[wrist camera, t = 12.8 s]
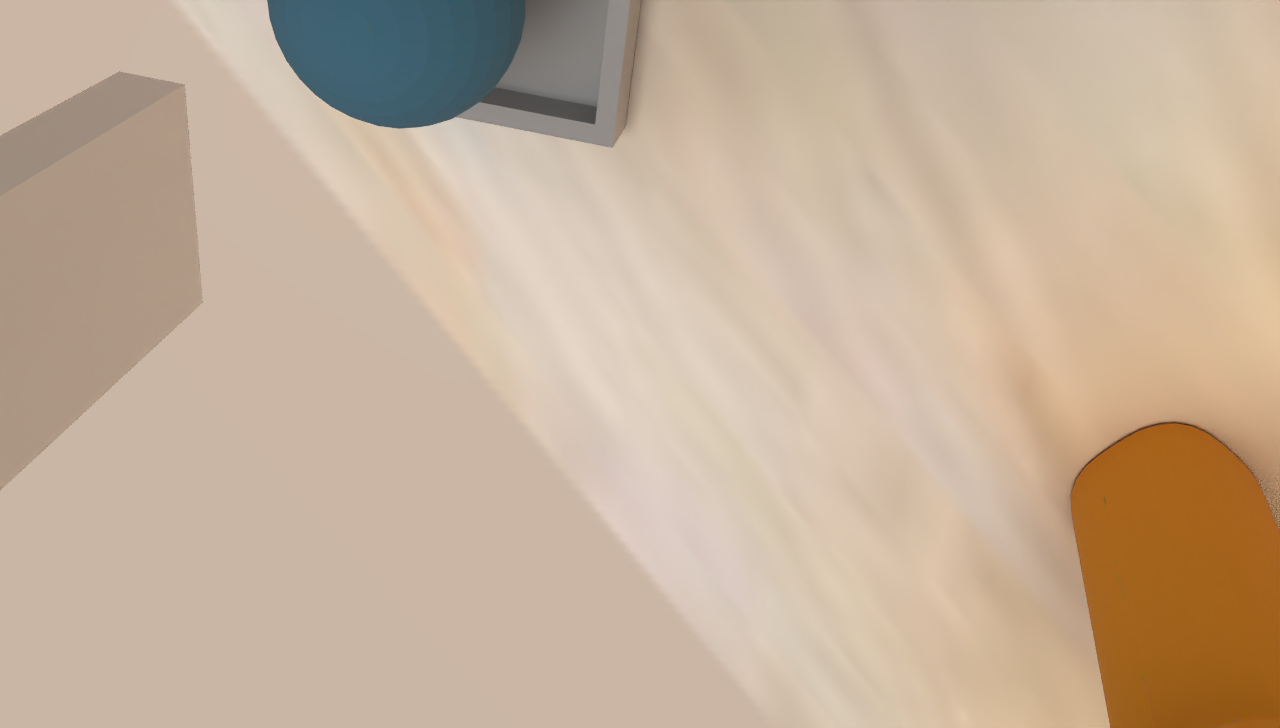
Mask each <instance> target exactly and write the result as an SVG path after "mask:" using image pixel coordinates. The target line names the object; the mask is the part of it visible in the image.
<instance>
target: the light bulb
mask: <svg viewBox="0 0 1280 728" xmlns="http://www.w3.org/2000/svg"><path fill="white" fill-rule="evenodd" d="M267 1H268V8H269V16H270V21H271V24H272V28H273V31H274V34H275V37H276V40H277V42H278V44H279V46H280V48H281V50H282V52H283V54H284V56H285V58H286V60H287V62H288V63H289V65H290V66H291V67H292V69H293V70H294V72H295V73H296V74H297V76H298V77H299V78H300V80H301V81H302V82H303V83H304V84H305V85H306V86H307V87H308V88H309V89H310V90H311V91H312V92H313V93H314V94H315V95H317V96H318V97H319V98H321V99H322V100H323V101H325V102H326V103H327V104H329V105H330V106H331V107H333V108H335V109H337V110H339V111H341V112H343V113H345V114H346V115H348V116H350V117H353V118H355V119H358V120H361V121H365V122H368V123H371V124H374V125H377V126H384V127H392V128H412V127H422V126H429V125H433V124H436V123H440V122H443V121H446V120H450V119H452V118H454V117H456V116H458V115H459V114H461V113H463V112H465V111H466V110H468V109H470V108H471V107H473V106H474V105H476V104H477V103H479V102H480V101H481V100H482V99H483V98H484V97H485V96H486V95H488V94H489V93H490V92H491V91H492V90H493V89H494V88H495V87H496V85H497V84H498V83H499V81H500V80H501V78H502V77H503V75H504V74H505V72H506V71H507V70H508V68H509V66H510V64H511V62H512V61H513V58H514V56H515V53H516V51H517V49H518V46H519V44H520V41H521V37H522V32H523V27H524V21H525V0H267Z"/></svg>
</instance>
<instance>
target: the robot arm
mask: <svg viewBox="0 0 1280 728" xmlns="http://www.w3.org/2000/svg"><path fill="white" fill-rule="evenodd" d="M201 303H203V301H202V289H201V276H200V264H199V253H198V240H197V228H196V215H195V203H194V192H193V179H192V167H191V155H190V143H189V131H188V118H187V106H186V94H185V85H184V84H179V83H174V82H169V81H164V80H159V79H154V78H149V77H144V76H139V75H134V74H129V73H123V72H118V73H116V74H114V75H112V76H110V77H109V78H107V79H105V80H103V81H101V82H99V83H97V84H96V85H94V86H92V87H90V88H88V89H86V90H84V91H83V92H81V93H79V94H77V95H75V96H73V97H72V98H70V99H68V100H66V101H64V102H62V103H60V104H58V105H57V106H55V107H53V108H51V109H49V110H47V111H45V112H44V113H42V114H40V115H38V116H36V117H34V118H32V119H31V120H29V121H27V122H25V123H23V124H21V125H19V126H17V127H16V128H14V129H12V130H10V131H8V132H7V133H4V134H3V135H1V136H0V490H1V489H2V488H3V487H4V486H5V485H7V483H9V482H10V481H11V480H12V479H13V478H14V477H15V476H16V475H17V474H18V473H19V472H21V471H22V470H23V469H24V468H25V467H26V466H27V465H28V464H29V463H30V462H31V461H32V460H33V459H35V458H36V457H37V456H38V455H39V454H40V453H41V452H42V451H43V450H44V449H45V448H46V447H48V445H50V444H51V443H52V442H53V441H54V440H55V439H56V438H57V437H58V436H59V435H60V434H62V433H63V432H64V431H65V430H66V429H67V428H68V427H69V426H70V425H71V424H72V423H73V422H74V421H76V420H77V419H78V418H79V417H80V416H81V415H82V414H83V413H84V412H85V411H86V410H87V409H88V408H89V407H91V406H92V405H93V404H94V403H95V402H96V401H97V400H98V399H99V398H100V397H101V396H103V395H104V394H105V393H106V392H107V391H108V390H109V389H110V388H111V387H112V386H113V385H114V384H115V383H117V382H118V380H120V379H121V378H122V377H123V376H124V375H125V374H126V373H127V372H128V371H129V370H131V369H132V368H133V367H134V366H135V365H136V364H137V363H138V362H139V361H140V360H141V359H142V358H143V357H145V356H146V355H147V354H148V353H149V352H150V351H151V350H152V349H153V348H154V347H155V346H156V345H158V344H159V343H160V342H161V341H162V340H163V339H164V338H165V337H166V336H167V335H168V334H169V333H170V332H172V331H173V330H174V329H175V328H176V327H177V326H178V325H179V324H180V323H181V322H182V321H183V320H184V319H186V318H187V317H188V316H189V315H190V314H191V313H192V312H193V311H194V310H195V309H196V308H197V307H199V306H200V304H201Z"/></svg>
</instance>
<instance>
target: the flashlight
mask: <svg viewBox="0 0 1280 728" xmlns="http://www.w3.org/2000/svg"><path fill="white" fill-rule="evenodd" d="M1071 510H1072V518H1073V525H1074V531H1075V536H1076V542H1077V548H1078V553H1079V559H1080V564H1081V570H1082V575H1083V581H1084V586H1085V592H1086V597H1087V603H1088V608H1089V613H1090V619H1091V624H1092V630H1093V635H1094V641H1095V646H1096V651H1097V657H1098V662H1099V668H1100V673H1101V679H1102V684H1103V689H1104V695H1105V700H1106V706H1107V711H1108V717H1109V722H1110V728H1280V531H1279V529H1278V527H1277V524H1276V522H1275V520H1274V517H1273V515H1272V513H1271V510H1270V508H1269V506H1268V503H1267V501H1266V499H1265V497H1264V494H1263V492H1262V490H1261V488H1260V486H1259V484H1258V482H1257V480H1256V478H1255V476H1254V475H1253V474H1252V473H1251V471H1250V470H1249V469H1248V468H1247V466H1246V465H1245V464H1244V463H1243V462H1242V461H1241V460H1240V459H1239V458H1238V457H1236V456H1235V455H1234V454H1233V453H1232V452H1231V451H1230V450H1229V449H1228V448H1227V447H1226V446H1224V445H1223V444H1222V443H1221V442H1219V441H1218V440H1216V439H1215V438H1214V437H1212V436H1211V435H1210V434H1208V433H1206V432H1204V431H1202V430H1200V429H1197V428H1195V427H1193V426H1188V425H1183V424H1178V423H1172V424H1159V425H1155V426H1152V427H1148V428H1145V429H1142V430H1139V431H1137V432H1135V433H1133V434H1132V435H1130V436H1128V437H1126V438H1124V439H1122V440H1121V441H1119V442H1118V443H1116V444H1115V445H1113V446H1112V447H1110V448H1109V449H1107V450H1106V451H1104V452H1103V453H1102V454H1100V455H1099V456H1097V457H1096V458H1095V459H1094V460H1093V461H1091V462H1090V463H1089V464H1088V465H1087V466H1086V467H1085V468H1084V469H1083V471H1082V472H1081V473H1080V475H1079V476H1078V477H1077V479H1076V481H1075V484H1074V487H1073V490H1072V493H1071Z"/></svg>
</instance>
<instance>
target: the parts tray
mask: <svg viewBox="0 0 1280 728" xmlns="http://www.w3.org/2000/svg"><path fill="white" fill-rule="evenodd" d="M640 6H641V0H525V21H524V27H523V32H522V37H521V41H520V44H519V46H518V49H517V51H516V53H515V56H514V58H513V61H512V62H511V64H510V66H509V68H508V70H507V71H506V72H505V74H504V75H503V77H502V78H501V80H500V81H499V83H498V84H497V85H496V87H495V88H494V89H493V90H492V91H491V92H490V93H489V94H488V95H486V96H485V97H484V98H483V99H482V100H481V101H480V102H479V103H477V104H476V105H474V106H473V107H471V108H470V109H468V110H466V111H465V112H463V113H461V114H459V115H458V116H456V117H459V118H464V119H469V120H474V121H479V122H485V123H490V124H495V125H500V126H505V127H510V128H515V129H520V130H525V131H531V132H536V133H541V134H546V135H551V136H556V137H561V138H566V139H571V140H576V141H582V142H587V143H592V144H597V145H602V146H607V147H612V148H613V146H614V144H615V143H616V141H617V139H618V138H619V136H620V134H621V133H622V131H623V129H624V128H625V125H626V117H627V109H628V102H629V94H630V86H631V78H632V70H633V62H634V54H635V46H636V38H637V30H638V22H639V14H640Z"/></svg>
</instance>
